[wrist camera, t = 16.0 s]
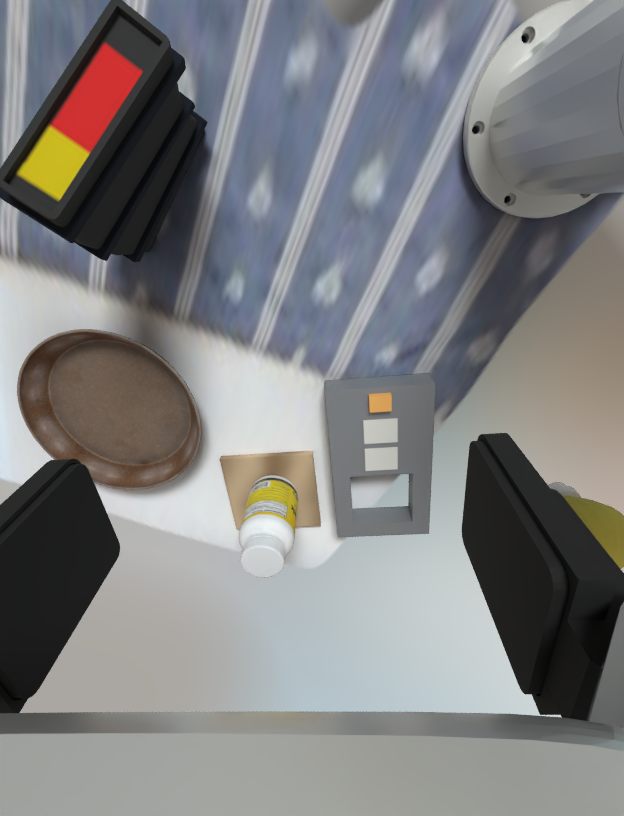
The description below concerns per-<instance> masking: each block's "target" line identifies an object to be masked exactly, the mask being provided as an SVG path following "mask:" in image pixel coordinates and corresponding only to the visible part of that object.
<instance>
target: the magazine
mask: <svg viewBox="0 0 624 816" xmlns="http://www.w3.org/2000/svg"><path fill="white" fill-rule="evenodd" d="M185 69H186V66H185V60H184V58H183V57H182V56H181V55H180V54H179V53H177V52H176V51H175V50H173V49H172V48H171V45H170V41H169V39H168V38H167V36H166V35H165V34H163V33H162V32H161V31H160V30H158V29H157V28H156V27H155V26H153V25H152V24H151V23H150V22H148V21H147V20H146V19H145V18H143V17H142V16H141V15H140V14H138V13H137V12H136V11H135V10H133V9H132V8H131V7H130V6H128V5H127V4H126V3H125V2H123V1H122V0H111V1H110V2H109V4H108V5H107V7H106V8H105V10H104V11H103V13H102V14H101V16H100V18H99V19H98V21H97V22H96V24H95V25H94V27H93V28H92V30H91V31H90V33H89V34H88V36H87V37H86V39H85V40H84V42H83V43H82V45H81V46H80V48H79V50H78V51H77V53H76V54H75V56H74V57H73V59H72V60H71V62H70V63H69V65H68V66H67V68H66V69H65V71H64V72H63V74H62V75H61V77H60V79H59V80H58V82H57V83H56V85H55V86H54V88H53V89H52V91H51V92H50V94H49V95H48V97H47V98H46V100H45V101H44V103H43V104H42V106H41V107H40V109H39V111H38V112H37V114H36V115H35V117H34V118H33V120H32V121H31V123H30V124H29V126H28V127H27V129H26V130H25V132H24V133H23V135H22V136H21V138H20V140H19V141H18V143H17V144H16V146H15V147H14V149H13V150H12V152H11V153H10V155H9V156H8V158H7V159H6V161H5V162H4V164H3V165H2V167H1V168H0V198H1V199H3V200H4V201H6V202H7V203H9V204H10V205H12V206H14V207H15V208H17V209H18V210H20V211H21V212H23V213H25V214H26V215H28V216H29V217H31V218H32V219H34V220H36V221H37V222H39V223H40V224H42V225H43V226H45V227H47V228H48V229H50V230H51V231H53V232H54V233H56V234H58V235H59V236H61V237H62V238H64V239H65V240H67V241H69V242H70V243H73V242H75V243H76V244H78V245H79V246H81V247H82V248H84V249H86V250H87V251H89V252H90V253H92V254H93V255H95V256H97V257H98V258H100V259H102V260H105V261H107V260H108V258H109V256H110V255H111V254H115V255H124V256H126V257H127V258H129V259H130V260H132V261H133V262H137V261H140V260H141V258H142V256H143V254H144V252H148V251H149V250H150V249H151V247H152V245H153V243H154V241H155V239H156V236H157V234H158V232H159V230H160V228H161V225H162V223H163V221H164V219H165V217H166V214H167V212H168V210H169V208H170V206H171V203H172V201H173V199H174V197H175V195H176V192H177V190H178V188H179V186H180V184H181V181H182V179H183V177H184V175H185V173H186V171H187V168H188V166H189V164H190V162H191V160H192V157H193V155H194V153H195V151H196V149H197V146H198V144H199V142H200V140H201V138H202V135H203V133H204V129H205V127H206V125H207V121H206V120H204V119H203V118H202V117H201V116H199V115H198V114H197V113H195V112H194V111H193V110H194V108H195V105H194V103H193V102H192V101H191V100H190V99H188V98H187V97H186V96H184V95H183V94H182V93H181V92H179V90H178V84H177V81H178V80H179V78H180V77H181V75H182V74H183V72H184V71H185Z"/></svg>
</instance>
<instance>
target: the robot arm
mask: <svg viewBox="0 0 624 816" xmlns="http://www.w3.org/2000/svg"><path fill="white" fill-rule="evenodd" d="M521 36H525V37H526V42H525V44H524V43H523V42H522V39H521ZM474 126H476V127H477V128H478V131H477V133H476V134H473V133H472V128H473V127H474ZM463 145H464V157H465V161H466V165H467V169H468V172H469V175H470V177H471V179H472V181H473V183H474V185H475V187H476V188H477V190H478V191H479V192H480V194H481V195H482V196H483V197H484V199H485V200H487V201H488V202H489V203H490V204H492V205H493V206H494V207H495V208H497V209H499V210H501V211H503V212H505V213H507V214H510V215H514V216H519V217H523V218H544V217H553V216H556V215H560V214H563V213H566V212H569V211H571V210H573V209H576V208H578V207H580V206H582V205H584V204H586V203H587V202H588V201H590V200H591V199H593V198H594V197H596V196H597V195H598V194H600V193H619V192H624V0H567V1H563V2H559V3H556V4H554V5H552V6H550V7H548V8H546V9H544V10H542V11H540V12H538V13H536V14H535V15H533V16H532V17H531V18H529V19H528V20H527V21H525V22H524V23H523V24H521V25H520V26H518V27H517V28H516V29H515V30H514V31H513V32H512V33H511V34H510V35H509V36H508V37H507V38H506V39H505V40H504V41H503V42H502V44H501V45H500V46H499V47H498V48H497V50H496V51H495V52H494V53H493V54H492V56H491V57H490V59H489V60H488V62H487V63H486V65H485V67H484V68H483V70H482V72H481V73H480V75H479V77H478V79H477V82H476V84H475V86H474V89H473V91H472V93H471V96H470V99H469V103H468V107H467V111H466V115H465V121H464V131H463ZM580 194H581V195H580ZM506 196H508V198H509V200H508V202H507V203H504V199H505V197H506ZM469 448H470V449H469V458H468V469H467V479H466V491H465V501H464V512H463V522H462V537H463V542H464V546H465V548H466V551H467V553H468V556H469V558H470V561H471V564H472V566H473V569H474V571H475V573H476V576H477V579H478V581H479V584H480V587H481V589H482V592H483V594H484V597H485V600H486V602H487V605H488V607H489V610H490V612H491V615H492V617H493V620H494V622H495V625H496V628H497V630H498V633H499V635H500V638H501V640H502V643H503V646H504V648H505V651H506V653H507V656H508V659H509V661H510V664H511V666H512V669H513V671H514V674H515V677H516V679H517V682H518V684H519V686H520V689H521V690H522V692H523V693H524V694H532V696H533V698H534V701H535V703H536V706H537V708H538V711H539V713H540V715H554V714H555V715H561V716H562V718H560V717H546V716H532V715H518V714H486V713H485V714H484V713H436V712H435V713H434V712H104V713H103V712H92V713H91V712H90V713H88V712H86V713H84V712H83V713H19V712H20V711H21V709H22V708H23V706H24V704H25V703H26V701H27V699H28V698H30V697H32V696H33V695H34V694H35V693H36V692H37V690H38V689H39V688H40V686H41V684H42V683H43V681H44V679H45V678H46V676H47V674H48V673H49V671H50V669H51V668H52V666H53V664H54V663H55V661H56V659H57V658H58V656H59V654H60V653H61V651H62V649H63V648H64V646H65V645H66V643H67V641H68V639H69V638H70V636H71V635H72V632H73V631H74V630H75V628H76V626H77V625H78V623H79V621H80V620H81V618H82V616H83V614H84V613H85V611H86V610H87V608H88V606H89V605H90V603H91V601H92V600H93V598H94V596H95V595H96V593H97V591H98V590H99V588H100V586H101V585H102V583H103V581H104V580H105V578H106V577H107V575H108V573H109V572H110V570H111V568H112V567H113V565H114V563H115V562H116V560H117V558H118V556H119V552H120V544H119V541H118V539H117V536H116V534H115V532H114V529H113V527H112V524H111V522H110V520H109V518H108V515H107V513H106V510H105V508H104V506H103V503H102V501H101V498H100V496H99V494H98V491H97V489H96V487H95V484H94V482H93V479H92V477H91V475H90V472H89V470H88V468H87V467H86V466H85V465H84V464H81V462H80V461H79V460H77V459H61V460H51V461H49V462H47V463H46V464H45V465H44V466H43V467H42V468H40V469H39V470H38V471H37V472H36V473H35V474H34V475H33V476H32V477H31V478H29V479H28V480H27V481H26V482H25V483H24V484H23V485H22V486H21V487H20V488H19V489H17V490H16V491H15V492H14V493H13V494H12V495H11V496H10V497H9V498H8V499H6V500H5V501H4V502H3V503H2V504H1V505H0V816H624V573H623V572H622V571H621V569H620V568H619V567H618V565H617V564H616V563H615V562H614V560H613V559H612V558H611V557H610V555H609V554H608V553H607V552H606V550H605V549H604V548H603V546H602V545H601V544H600V543H599V541H598V540H597V539H596V538H595V536H594V535H593V534H592V533H591V531H590V530H589V529H588V528H587V526H586V525H585V524H584V522H583V521H582V520H581V519H580V517H579V516H578V515H577V514H576V512H575V511H574V510H573V509H572V507H571V506H570V505H569V503H568V502H567V501H566V500H565V498H564V497H563V496H562V495H561V494H560V493H559V492H558V491H557V490H555V489H552V488H551V489H550V488H549V486H548V485H547V484H546V483H545V481H544V480H543V479H542V477H541V476H540V475H539V473H538V472H537V471H536V470H535V468H534V467H533V466H532V464H531V463H530V462H529V460H528V459H527V458H526V457H525V455H524V454H523V453H522V451H521V450H520V449H519V448H518V446H517V445H516V444H515V442H514V441H513V440H512V438H511V437H510V436H509V435H508V434H507V433H499V434H498V433H497V434H481V435H480V436H479V437H478V440H477V441H472V442H471V443H470V447H469Z"/></svg>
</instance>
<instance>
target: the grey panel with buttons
mask: <svg viewBox="0 0 624 816" xmlns="http://www.w3.org/2000/svg"><path fill="white" fill-rule="evenodd" d="M435 387H436V383H435V381H434V380H433V378H432V376H431V375H430V373H423V374H409V375H396V376H382V377H368V378H354V379H341V380H327V381H325V400H326V411H327V422H328V433H329V444H330V455H331V466H332V477H333V488H334V499H335V510H336V521H337V532H338V537H354V536H355V537H356V536H380V535H404V534H428V533H429V520H430V519H429V518H430V497H431V474H432V454H433V432H434V409H435ZM396 474H409V506H405V507H384V508H383V507H382V508H360V509H352V498H351V483H350V477H358V476H377V475H396Z"/></svg>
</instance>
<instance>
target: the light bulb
mask: <svg viewBox="0 0 624 816" xmlns="http://www.w3.org/2000/svg"><path fill="white" fill-rule="evenodd" d="M548 486H549V488H550V489H551V488H552V489H555V490H557V491H558V492H559V493H560V494H561V495H562V496H563V497H564V498H565V500H566V501H567V502H568V503H569V505H570V506H571V507H572V509H573V510H574V511H575V512H576V514H577V515H578V516H579V517H580V519H581V520H582V521H583V522H584V524H585V525H586V526H587V528H588V529H589V530H590V531H591V533H592V534H593V535H594V536H595V538H596V539H597V540H598V541H599V543H600V544H601V545H602V546H603V548H604V549H605V550H606V552H607V553H608V554H609V555H610V557H611V558H612V559H613V560H614V562H615V563H616V564H617V565H618V567H619V568H620V569H621V568H623V567H624V516H623V515H622V514H621V513H620V512H618V511H617V510H615V509H614V508H612V507H610V506H607V505H604V504H601V503H598V502H595V501H593V500H588V499H583V498H581V497H580V495H579V494H578V493H577V492H576V491H575V489H574V488H572V487H570V486H566V485H565V484H563V483H560V482H555V483H552V484H550V485H548Z"/></svg>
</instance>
